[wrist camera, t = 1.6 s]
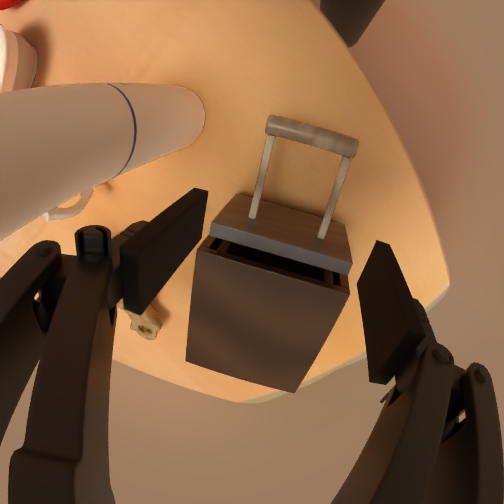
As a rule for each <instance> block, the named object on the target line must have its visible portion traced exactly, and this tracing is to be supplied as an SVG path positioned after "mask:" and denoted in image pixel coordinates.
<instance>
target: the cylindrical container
mask: <svg viewBox="0 0 504 504" xmlns="http://www.w3.org/2000/svg"><path fill="white" fill-rule="evenodd" d="M204 122H205V111H204V107H203V104H202V102H201V100H200V98H199V97H198V96H197V95H196V94H195V93H194V92H193V91H192V90H190V89H188V88H185V87H182V86H172V85H159V84H142V83H82V84H66V85H54V86H44V87H35V88H28V89H21V90H15V91H9V92H4V93H0V241H1V240H3V239H4V238H6V237H7V236H9V235H10V234H12V233H13V232H15V231H17V230H18V229H20V228H21V227H23V226H24V225H26V224H28V223H29V222H31V221H33V220H34V219H36V218H38V217H39V216H41V215H43V214H44V213H46V212H48V211H50V210H51V209H53V208H55V207H57V206H59V205H60V204H62V203H64V202H66V201H68V200H70V199H72V198H74V197H75V196H77V195H79V194H81V193H83V192H85V191H87V190H89V189H91V188H93V187H95V186H97V185H99V184H101V183H103V182H106V181H108V180H110V179H112V178H114V177H116V176H118V175H121V174H123V173H125V172H127V171H130V170H132V169H134V168H136V167H139V166H141V165H143V164H146V163H148V162H151V161H153V160H156V159H158V158H160V157H163V156H166V155H168V154H171V153H173V152H176V151H179V150H181V149H184V148H186V147H188V146H190V145H191V144H192V143H194V142H195V141H196V140H197V138H198V137H199V136H200V134H201V132H202V130H203V127H204Z"/></svg>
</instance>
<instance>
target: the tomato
mask: <svg viewBox="0 0 504 504" xmlns="http://www.w3.org/2000/svg"><path fill="white" fill-rule="evenodd" d="M19 1H20V0H0V10H5V9H7V8H10V7H12V6H14V5H15V4H17V3H18V2H19Z"/></svg>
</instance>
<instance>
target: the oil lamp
mask: <svg viewBox="0 0 504 504" xmlns="http://www.w3.org/2000/svg"><path fill="white" fill-rule="evenodd" d="M116 306H117V307H119V308H121V309H122V310H124V311H125V312H126V313H127V314H128V315H129V317H130V319H131V325H130V328H131V329H132V330H135V331H136V332H137V333H138V334H139V335H140V336H142V337H144V338H146V339H148V340H153V339H154V338H155V337H156V336H157V333H158V332H159V331H160V329H161V327H162V324H161V319H160V317H159V315H158V314H157V313H156V311H155V310H154V309H153V308H152V307H151V303H150V305H149V306H148V307H147V309H146V310H145V311H144V313H143V314H142V315H141V316H139V315H137V314H134V313H132V312H130V311H127V310H125V309H124V307H123V298H122V299H121V300H120V301H119V302H118V303H117V305H116Z"/></svg>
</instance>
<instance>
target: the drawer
mask: <svg viewBox="0 0 504 504" xmlns="http://www.w3.org/2000/svg"><path fill="white" fill-rule="evenodd" d="M265 133H266V134H268V135H267V139H266V143H265V147H264V152H263V156H262V160H261V165H260V169H259V173H258V178H257V182H256V186H255V191H254V195H253V198H251V197H248V196H244V195H240V194H236V195H235V196H234V197H233V198H232V199H231V200H230V201H229V203H228V204H227V205H226V206H225V207H224V208H223V209H222V211H221V212H220V213H219V214H218V215H217V216H216V218H215V219H214V220H213V221H212V222H211V227H210V234H209V235H210V236H213V237H217V238H220V239H224V240H223V241H222V243H221V244H220V246H219V247H218V249H217V251H221V252H224V253H228V254H231V255H234V256H238V257H241V258H245V259H248V260H251V261H255V262H258V263H262V264H265V265H268V266H272V267H275V268H279V269H282V270H286V271H289V272H293V273H296V274H299V275H303V276H306V277H310V278H313V279H317V280H320V281H324V282H327V283H331V284H333V272H337V273H340V274H344V275H348V273H349V271H350V269H351V266H352V264H353V262H352V257H351V252H350V247H349V242H348V238H347V233H346V229H345V225H344V224H340V223H337V222H334V221H331V217H332V215H333V212H334V209H335V206H336V203H337V200H338V197H339V194H340V191H341V188H342V185H343V182H344V179H345V175H346V172H347V169H348V166H349V163H350V158H352V159H353V158H354V157H355V155H356V152H357V149H358V144H359V141H358V139H355V138H352V137H349V136H346V135H343V134H340V133H337V132H334V131H330V130H327V129H324V128H321V127H317V126H314V125H310V124H307V123H303V122H299V121H296V120H292V119H288V118H284V117H280V116H276V115H269V117H268V120H267V124H266V129H265ZM276 136H277V137H281V138H285V139H289V140H292V141H296V142H300V143H303V144H307V145H310V146H314V147H317V148H321V149H324V150H327V151H330V152H333V153H337V154H340V155H343V156H342V160H341V163H340V166H339V170H338V173H337V176H336V179H335V182H334V186H333V189H332V192H331V195H330V198H329V201H328V204H327V207H326V210H325V213H324V216H323V218H321V217H318V216H314V215H311V214H308V213H304V212H301V211H298V210H294V209H291V208H287V207H284V206H280V205H277V204H273V203H270V202H266V201H262V200H261V196H262V191H263V187H264V183H265V179H266V175H267V171H268V167H269V162H270V158H271V154H272V150H273V146H274V142H275V138H276Z"/></svg>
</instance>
